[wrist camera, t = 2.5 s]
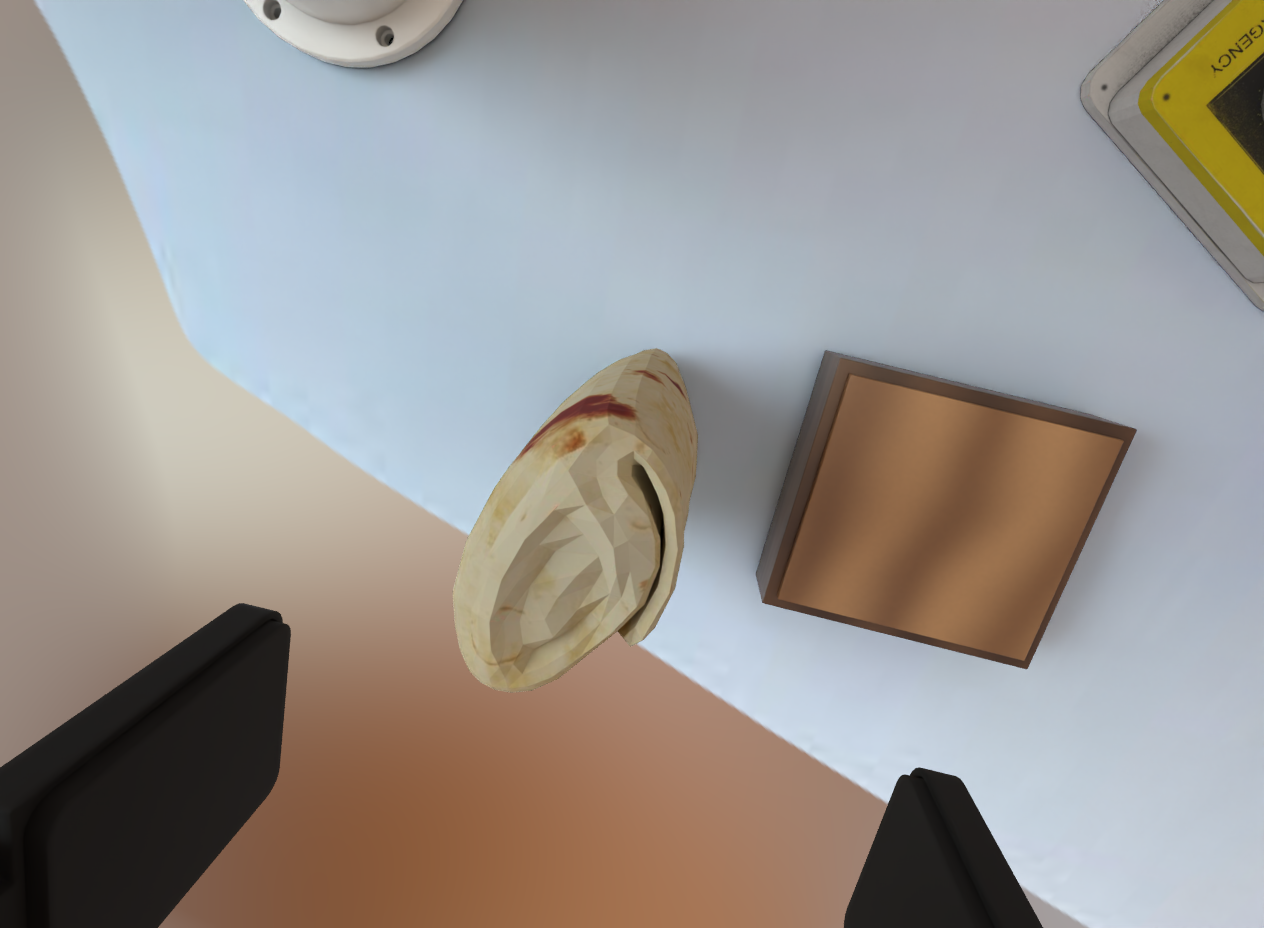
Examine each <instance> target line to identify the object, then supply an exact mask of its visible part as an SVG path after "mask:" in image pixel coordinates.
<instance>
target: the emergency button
mask: <svg viewBox="0 0 1264 928" xmlns="http://www.w3.org/2000/svg"><path fill="white" fill-rule="evenodd" d="M1080 99H1081V101H1082V103H1083V105H1084V107H1085V109H1086V111H1087V112H1088V113H1089V114H1090V115H1091V116H1092V118H1093V119H1094V120H1095V121H1096V122H1097V123H1098V125H1099V126H1100V127H1101V128H1102V129H1103V130H1104V131H1105V133H1106V134H1107V135H1108V136H1109V137H1110V138H1111V139H1112V141H1113V142H1114V143H1115V144H1116V145H1117V146H1118V148H1119V149H1120V150H1121V151H1122V152H1123V153H1124V154H1125V156H1126V157H1127V158H1128V159H1129V160H1130V161H1131V163H1132V164H1133V165H1134V166H1135V167H1136V168H1137V169H1138V171H1139V172H1140V173H1141V174H1142V175H1143V176H1144V178H1145V179H1146V180H1147V181H1148V182H1149V183H1150V184H1151V186H1152V187H1153V188H1154V189H1155V190H1156V191H1157V193H1158V194H1159V195H1160V196H1161V197H1162V198H1163V199H1164V201H1165V202H1166V203H1167V204H1168V205H1169V206H1170V208H1171V209H1172V210H1173V211H1174V212H1175V213H1176V214H1177V216H1178V217H1179V218H1180V219H1181V220H1182V221H1183V223H1184V224H1185V225H1186V226H1187V227H1188V228H1189V229H1190V231H1191V232H1192V233H1193V234H1194V235H1195V236H1196V237H1197V239H1198V240H1199V241H1200V242H1201V243H1202V244H1203V246H1204V247H1205V248H1206V249H1207V250H1208V251H1209V252H1210V254H1211V255H1212V256H1213V257H1214V258H1215V259H1216V261H1217V262H1218V263H1219V264H1220V265H1221V266H1222V267H1223V269H1224V270H1225V271H1226V272H1227V273H1228V274H1229V276H1230V277H1231V278H1232V279H1233V280H1234V281H1235V282H1236V284H1237V285H1238V286H1239V287H1240V288H1241V289H1242V291H1243V292H1244V293H1245V294H1246V295H1247V296H1248V297H1249V299H1250V300H1251V301H1252V302H1253V303H1254V304H1255V306H1256V307H1258V308H1259V309H1261V310H1263V311H1264V0H1164V1H1163V2H1162V3H1161V4H1160V5H1159V6H1158V7H1157V8H1156V9H1155V10H1154V11H1153V12H1152V13H1151V14H1150V15H1149V16H1148V17H1147V18H1146V19H1145V20H1143V21H1142V22H1141V23H1140V24H1139V25H1138V26H1137V27H1136V28H1135V29H1134V30H1133V31H1132V32H1131V33H1130V34H1129V35H1128V36H1127V37H1126V38H1125V39H1124V40H1123V41H1122V42H1121V43H1120V44H1119V45H1118V46H1117V47H1116V48H1115V49H1114V50H1113V51H1112V52H1111V53H1110V54H1109V55H1108V56H1107V57H1106V58H1105V59H1104V60H1102V61H1101V62H1100V63H1099V64H1098V65H1097V66H1096V67H1095V68H1094V69H1093V70H1092V71H1091V72H1090V73H1089V74H1088V75H1087V77H1086V79H1085V80H1084V82H1083V84H1082V85H1081V98H1080Z"/></svg>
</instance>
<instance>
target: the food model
mask: <svg viewBox="0 0 1264 928" xmlns="http://www.w3.org/2000/svg"><path fill="white" fill-rule="evenodd" d="M697 443H698V433H697V429H696V426H695V422H694V418H693V414H692V410H691V406H690V402H689V398H688V394H687V390H686V387H685V384H684V381H683V379H682V377H681V374H680V372H679V369H678V367H677V364H676V362H675V361H674V360H673V359H672V358H671V357H670V356H669V355H668V354H667V353H666V352H664V351H661V350H659V349H657V348H656V349H650V350H644V351H642V352H639V353H637V354H635V355H632V356H629V357H626V358H623V359H620V360H618V361H616V362H615V363H613V364H611V365H610V366H608V367H606V368H605V369H603V370H601V371H600V372H598V373H597V374H596V375H594V376H593V377H592V378H591V379H589V380H588V381H587V382H586V383H585V384H583V385H582V386H581V387H580V388H579V389H578V390H577V391H575V392H574V393H573V394H572V395H571V396H570V397H568V398H567V399H566V400H565V401H564V402H563V403H562V404H561V405H560V406H559V407H558V408H557V410H556V411H555V412H554V413H553V414H552V415H551V416H550V417H549V418H548V420H547V421H546V422H545V423H544V424H543V425H542V426H541V427H540V429H539V430H538V431H537V432H536V434H535V435H534V436H533V438H532V439H531V440H530V441H529V443H528V444H527V445H526V446H525V448H524V449H523V450H522V451H521V453H520V454H519V455H518V456H517V458H516V459H515V460H514V461H513V463H512V464H511V465H510V466H509V468H508V469H507V471H506V472H505V473H504V475H503V476H502V478H501V479H500V481H499V482H498V484H497V485H496V486H495V488H494V490H493V491H492V493H491V495H490V497H489V499H488V501H487V503H486V505H485V507H484V508H483V510H482V512H481V514H480V516H479V518H478V520H477V522H476V524H475V525H474V527H473V529H472V531H471V533H470V535H469V537H468V539H467V542H466V544H465V548H464V552H463V555H462V559H461V563H460V567H459V570H458V574H457V578H456V581H455V585H454V589H453V603H454V617H455V628H456V633H457V637H458V642H459V647H460V651H461V653H462V655H463V658H464V660H465V662H466V664H467V667H468V669H469V671H470V672H471V673H472V674H473V675H474V676H475V677H476V678H477V679H478V681H480V682H481V683H483V684H485V685H487V686H489V687H491V688H493V689H495V690H500V691H506V692H521V691H531V690H534V689H536V688H538V687H541V686H543V685H545V684H548V683H550V682H552V681H554V680H557V679H558V678H560V677H561V676H562V675H563V674H565V673H566V672H567V671H568V670H570V669H571V668H572V667H573V666H574V665H576V664H577V663H578V662H580V661H581V660H582V659H583V658H584V657H586V656H587V655H588V654H589V653H591V652H592V651H593V650H594V649H596V648H597V647H598V646H599V645H601V644H602V643H603V642H604V641H606V640H607V639H608V638H609V637H611V636H612V635H613V634H614V633H616V632H617V631H618V632H619V634H620V635H621V636H622V637H623V638H624V639H625V641H626V642H627V643H628V644H629V646H633V645H635V644H636V643H638V642H640V641H642V640H644V639H645V638H646V636H647V635H648V634H649V633H650V632H651V631H652V630H653V629H654V628H655V626H656V624H657V623H658V621H659V619H660V617H661V615H662V613H663V611H664V609H665V607H666V605H667V603H668V601H669V599H670V597H671V595H672V593H673V591H674V589H675V586H676V581H677V576H678V571H679V567H680V562H681V557H682V552H683V548H684V530H685V526H686V521H687V517H688V511H689V501H690V497H691V493H692V489H693V485H694V481H695V477H696V465H697Z"/></svg>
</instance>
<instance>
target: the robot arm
mask: <svg viewBox="0 0 1264 928" xmlns="http://www.w3.org/2000/svg"><path fill="white" fill-rule="evenodd" d="M243 1H244V2H245V3H246V4H247V6H248V7H249V8H250V9H251V10H252V12H253V13H254V14H255V15H256V17H257V18H258V19H259V20H260V21H261V22H262V23H263V24H265V25H266V26H267V27H268V28H269V29H270V30H271V31H273V32H274V33H275V34H276V35H277V36H278V37H279V38H281V39H282V40H284V41H286V42H287V43H289V44H290V45H292V46H294V47H295V48H297V49H298V50H300V51H302V52H304V53H306V54H308V55H310V56H313V57H315V58H317V59H319V60H321V61H323V62H327V63H332V64H336V65H340V66H344V67H375V66H380V65H385V64H389V63H394V62H396V61H398V60H400V59H403V58H405V57H407V56H409V55H411V54H414V53H416V52H417V51H418V50H420V49H421V48H422V47H424V46H425V45H426V44H428V43H429V42H430V41H432V40H433V39H434V38H435V37H436V36H437V35H438V34H439V33H440V32H441V31H442V29H443V28H444V27H445V26H446V25H447V24H448V23H449V22H450V20H451V19H452V18H453V16H454V15H455V13H456V11H457V9H458V8H459V6H460V4H461V3H462V1H463V0H243ZM280 13H281V14H280ZM279 16H280V17H279ZM392 37H394V40H393V43H392V44H391V45H390V46H389V40H390V39H391V38H392ZM290 637H291V630H290V627H289V626H288V625H287V624H284V623H283V622H282V617H281V614H280V613H279V612H277V611H273V610H269V609H265V608H260V607H256V606H252V605H248V604H244V603H241V604H240V603H239V604H237V605H235V606H233V607H231V608H230V609H228V610H227V611H226V612H224V613H223V614H221V615H220V616H218V617H217V618H215V619H214V620H213V621H211V622H210V623H208V624H207V625H205V626H204V627H203V628H201V629H200V630H198V631H197V632H195V633H194V634H192V635H191V636H190V637H188V638H187V639H185V640H184V641H183V642H181V643H179V644H178V645H176V646H175V647H174V648H172V649H171V650H169V651H168V652H166V653H165V654H164V655H162V656H161V657H159V658H158V659H156V660H155V661H153V662H152V663H151V664H149V665H148V666H146V667H145V668H143V669H142V670H140V671H139V672H138V673H136V674H135V675H133V676H132V677H130V678H129V679H128V680H126V681H125V682H123V683H122V684H120V685H119V686H117V687H116V688H115V689H113V690H112V691H111V692H109V693H107V694H106V695H104V696H103V697H102V698H100V699H99V700H97V701H96V702H94V703H93V704H91V705H90V706H89V707H87V708H86V709H84V710H83V711H81V712H80V713H78V714H77V715H76V716H74V717H73V718H71V719H70V720H68V721H67V722H65V723H64V724H63V725H61V726H60V727H58V728H57V729H55V730H54V731H52V732H51V733H50V734H48V735H47V736H45V737H44V738H42V739H41V740H40V741H38V742H37V743H35V744H34V745H32V746H31V747H29V748H28V749H26V750H25V751H24V752H22V753H21V754H19V755H18V756H16V757H15V758H13V759H12V760H11V761H9V762H8V763H6V764H5V765H3V766H2V767H0V928H158V927H159V925H160V924H161V923H162V922H163V921H164V919H165V918H166V917H167V916H168V915H169V914H170V912H171V911H172V910H173V909H174V908H175V906H176V905H177V904H178V903H179V902H180V900H181V899H182V898H183V897H184V896H185V894H186V893H187V892H188V891H189V890H190V888H191V887H192V886H193V885H194V883H195V882H196V881H197V880H198V879H199V878H200V876H201V875H202V874H203V873H204V872H205V870H206V869H207V868H208V867H209V866H210V864H211V863H212V862H213V861H214V860H215V858H216V857H217V856H218V854H220V853H221V851H222V850H223V849H224V848H225V846H226V845H227V844H228V843H229V842H230V841H231V839H232V838H233V837H234V836H235V834H236V833H237V832H238V831H239V830H240V829H241V827H242V826H243V825H244V823H246V821H247V820H248V819H249V818H250V817H251V815H252V814H253V813H254V812H255V811H256V809H257V808H258V807H259V805H261V803H262V802H263V801H264V800H265V799H266V797H267V796H268V795H269V793H270V792H271V790H272V788H273V786H274V784H275V782H276V780H277V777H278V773H279V768H280V756H281V745H282V733H283V721H284V708H285V696H286V684H287V673H288V660H289V648H290ZM844 928H1043V927H1042V925H1041V923H1040V921H1039V919H1038V918H1037V916H1036V914H1035V912H1034V910H1033V909H1032V907H1031V905H1030V903H1029V901H1028V899H1027V898H1026V896H1025V894H1024V892H1023V890H1022V888H1021V887H1020V885H1019V883H1018V881H1017V879H1016V878H1015V876H1014V874H1013V872H1012V870H1011V868H1010V867H1009V865H1008V863H1007V861H1006V859H1005V858H1004V856H1003V854H1002V852H1001V850H1000V848H999V847H998V845H997V843H996V841H995V839H994V838H993V836H992V834H991V832H990V830H989V828H988V827H987V825H986V823H985V821H984V819H983V818H982V816H981V814H980V812H979V810H978V808H977V807H976V805H975V803H974V801H973V799H972V798H971V796H970V794H969V792H968V790H967V788H966V787H965V785H964V783H963V782H962V781H961V779H960V778H958V777H956V776H953V775H949V774H944V773H940V772H936V771H932V770H928V769H924V768H915V769H914V770H913V771H912V772H911V774H910V776H909V775H902V776H900V777H899V779H898V781H897V783H896V786H895V788H894V791H893V793H892V796H891V798H890V801H889V803H888V806H887V808H886V811H885V814H884V816H883V819H882V821H881V824H880V826H879V829H878V831H877V834H876V837H875V839H874V841H873V844H872V847H871V849H870V852H869V854H868V857H867V859H866V862H865V864H864V867H863V869H862V872H861V875H860V877H859V880H858V882H857V885H856V887H855V890H854V892H853V895H852V898H851V900H850V903H849V905H848V908H847V911H846V914H845V920H844Z"/></svg>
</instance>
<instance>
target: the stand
mask: <svg viewBox="0 0 1264 928" xmlns="http://www.w3.org/2000/svg"><path fill="white" fill-rule="evenodd" d="M1136 431H1137V430H1136V429H1134V428H1131V427H1128V426H1125V425H1122V424H1119V423H1116V422H1112V421H1109V420H1106V419H1103V418H1100V417H1097V416H1094V415H1090V414H1086V413H1082V412H1078V411H1074V410H1070V409H1066V408H1062V407H1057V406H1053V405H1049V404H1045V403H1041V402H1037V401H1033V400H1029V399H1025V398H1020V397H1016V396H1012V395H1008V394H1004V393H1000V392H996V391H992V390H987V389H983V388H979V387H975V386H971V385H967V384H963V383H959V382H954V381H950V380H946V379H942V378H938V377H934V376H930V375H926V374H921V373H917V372H913V371H909V370H905V369H901V368H897V367H893V366H889V365H884V364H880V363H876V362H872V361H868V360H864V359H860V358H856V357H851V356H847V355H843V354H839V353H835V352H831V351H827V350H826V351H825V353H824V356H823V359H822V362H821V366H820V369H819V372H818V375H817V378H816V382H815V385H814V388H813V391H812V395H811V398H810V401H809V404H808V407H807V411H806V414H805V417H804V420H803V423H802V427H801V430H800V433H799V436H798V439H797V443H796V446H795V449H794V452H793V456H792V459H791V462H790V465H789V468H788V472H787V475H786V478H785V481H784V484H783V488H782V491H781V494H780V497H779V501H778V504H777V507H776V510H775V513H774V517H773V520H772V523H771V526H770V529H769V533H768V536H767V539H766V542H765V546H764V549H763V552H762V555H761V558H760V562H759V565H758V568H757V571H756V577H757V581H758V586H759V590H760V595H761V599H762V603H765V604H769V605H773V606H777V607H781V608H785V609H789V610H793V611H797V612H801V613H805V614H809V615H813V616H817V617H821V618H825V619H829V620H833V621H837V622H841V623H845V624H849V625H852V626H856V627H860V628H864V629H868V630H872V631H876V632H880V633H884V634H888V635H892V636H896V637H900V638H904V639H908V640H912V641H916V642H920V643H924V644H928V645H932V646H936V647H940V648H944V649H948V650H952V651H956V652H960V653H964V654H968V655H972V656H976V657H980V658H984V659H988V660H992V661H996V662H1000V663H1004V664H1008V665H1012V666H1016V667H1020V668H1024V669H1028V667H1029V665H1030V662H1031V660H1032V658H1033V656H1034V654H1035V652H1036V649H1037V647H1038V645H1039V643H1040V641H1041V638H1042V636H1043V634H1044V632H1045V630H1046V627H1047V625H1048V623H1049V621H1050V619H1051V617H1052V614H1053V612H1054V610H1055V608H1056V606H1057V603H1058V601H1059V599H1060V597H1061V595H1062V593H1063V590H1064V588H1065V586H1066V584H1067V582H1068V579H1069V577H1070V575H1071V573H1072V571H1073V568H1074V566H1075V564H1076V562H1077V560H1078V558H1079V555H1080V553H1081V551H1082V549H1083V547H1084V544H1085V542H1086V540H1087V538H1088V536H1089V533H1090V531H1091V529H1092V527H1093V525H1094V523H1095V520H1096V518H1097V516H1098V514H1099V512H1100V509H1101V507H1102V505H1103V503H1104V501H1105V498H1106V496H1107V494H1108V492H1109V490H1110V488H1111V485H1112V483H1113V481H1114V479H1115V477H1116V474H1117V472H1118V470H1119V468H1120V466H1121V463H1122V461H1123V459H1124V457H1125V455H1126V453H1127V450H1128V448H1129V446H1130V444H1131V442H1132V439H1133V437H1134V435H1135V433H1136Z"/></svg>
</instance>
